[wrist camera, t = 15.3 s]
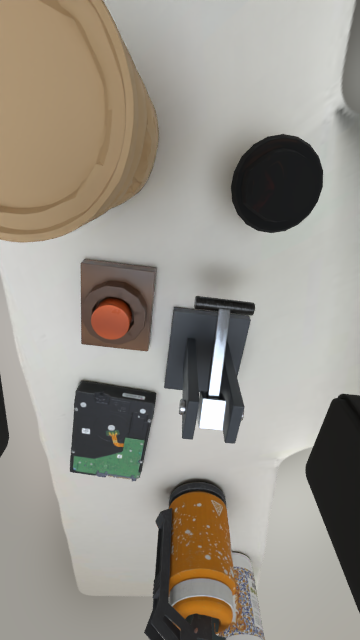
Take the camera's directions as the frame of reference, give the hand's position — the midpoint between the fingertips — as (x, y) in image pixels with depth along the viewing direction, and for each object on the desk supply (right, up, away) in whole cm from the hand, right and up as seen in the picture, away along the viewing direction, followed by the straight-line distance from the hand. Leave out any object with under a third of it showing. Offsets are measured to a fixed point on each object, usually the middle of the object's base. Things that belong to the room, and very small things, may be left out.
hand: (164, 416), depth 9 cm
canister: (+2, -26, +43) cm, 50 cm away
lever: (+4, -1, +23) cm, 23 cm away
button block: (-7, +5, +29) cm, 30 cm away
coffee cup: (+8, +17, +23) cm, 30 cm away
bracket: (+4, -1, +32) cm, 32 cm away
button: (-7, +3, +26) cm, 27 cm away
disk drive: (-9, -12, +37) cm, 40 cm away
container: (-8, +20, +22) cm, 31 cm away
